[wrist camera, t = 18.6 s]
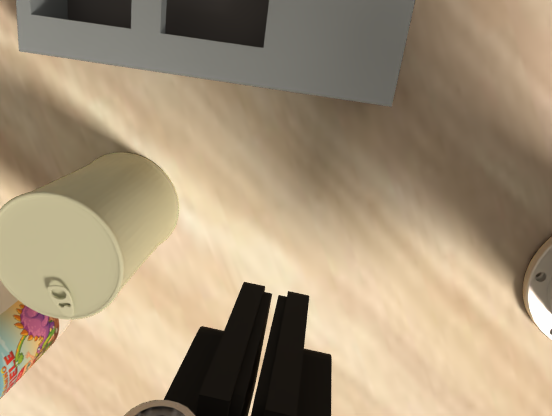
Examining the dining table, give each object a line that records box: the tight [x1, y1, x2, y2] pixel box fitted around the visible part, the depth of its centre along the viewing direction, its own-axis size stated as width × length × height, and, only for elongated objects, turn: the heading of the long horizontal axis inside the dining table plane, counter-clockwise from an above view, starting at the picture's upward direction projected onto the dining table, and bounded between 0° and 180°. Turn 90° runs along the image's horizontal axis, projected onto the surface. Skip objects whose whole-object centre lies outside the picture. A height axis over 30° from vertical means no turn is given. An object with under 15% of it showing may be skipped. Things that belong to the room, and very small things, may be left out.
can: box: [0, 152, 179, 320], centre depth 34 cm, size 9×9×12 cm
